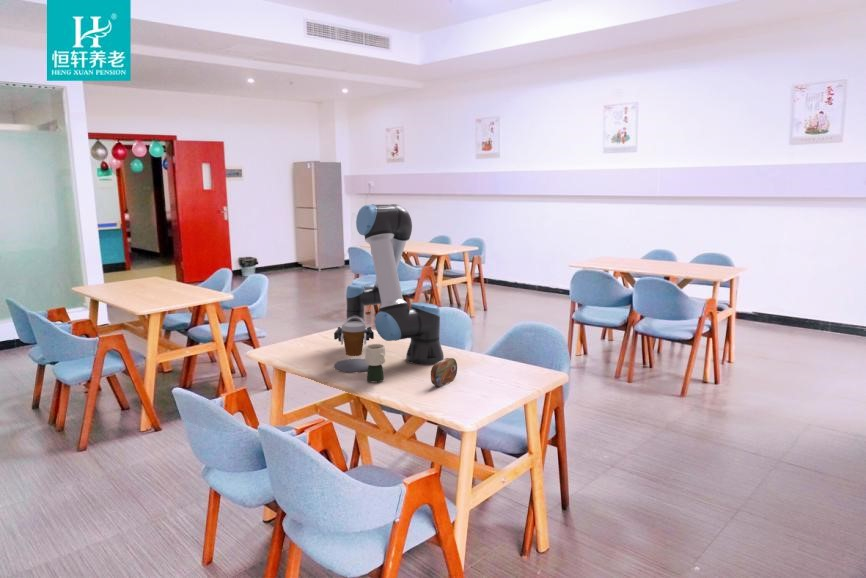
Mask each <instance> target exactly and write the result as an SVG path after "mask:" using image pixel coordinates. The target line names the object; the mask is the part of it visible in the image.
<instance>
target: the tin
mask: <svg viewBox="0 0 866 578" xmlns="http://www.w3.org/2000/svg"><path fill="white" fill-rule="evenodd" d="M457 374H458V363H457V361H456V359H455V358H453V357H445V358H444V359H443V360H441V361H439V362H437V363H435V364H432V367H431V369H430V381H431V383H432V385H433V386H435V387H440V388H441V387H444V386H445V385H447V384H448V383H449V384H450V383H451V382H453V380H455V378H456V377H457Z"/></svg>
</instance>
